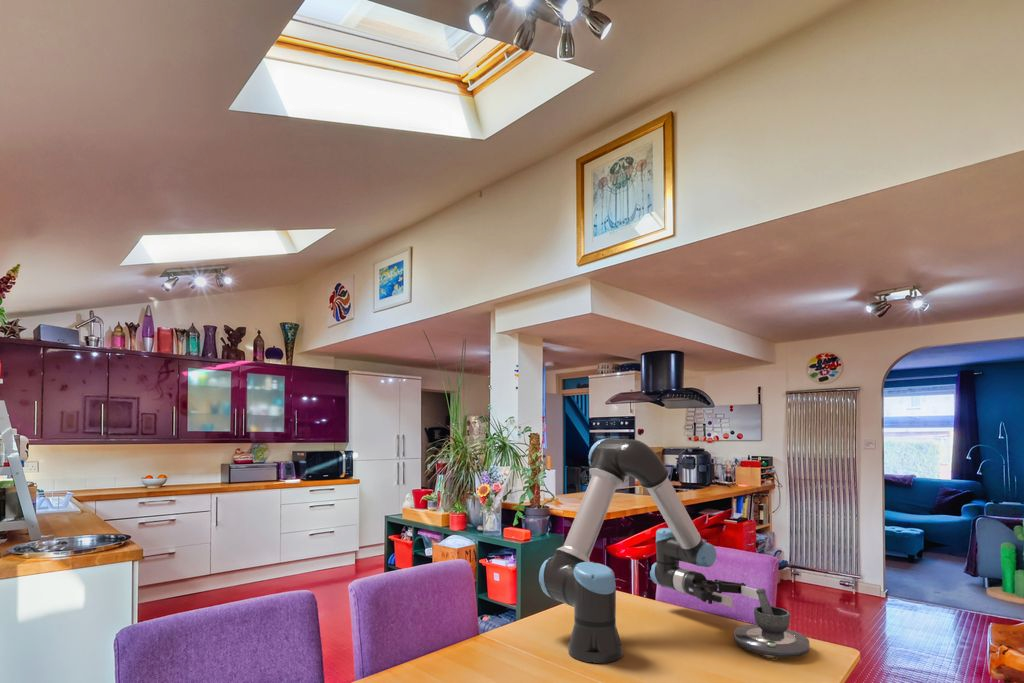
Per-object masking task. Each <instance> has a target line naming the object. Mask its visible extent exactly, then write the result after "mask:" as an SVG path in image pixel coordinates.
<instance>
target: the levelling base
mask: <svg viewBox="0 0 1024 683" xmlns="http://www.w3.org/2000/svg"><path fill="white" fill-rule="evenodd" d="M794 635H795V636H794ZM733 640H734V642H735V643H736V644H737V645H738V646H740V648H742V649H745V650H747V651H750V652H753V653H756V654H760V655H761V656H763V657H762V658H764V659H766V658H767V660H770V659H776V660H778V659H779V658H797V657H802V656H805V655H807V654H809V652H810V648H811V647H810V646H811V645H810V640H809V639H808V637H807V636H806V635H804V634H802V633H800V632H797V631H795V630H792V629H790V628H787V630H786V631H785V632H784V639H782V640H772V639H768V638H765V637H763V636H762V629H761V628H760V627H759V626H758V625H757V624H745V625H741V626H738V627H736V628H735V629H734V630H733ZM777 658H778V659H777Z"/></svg>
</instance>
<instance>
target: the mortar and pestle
mask: <svg viewBox="0 0 1024 683" xmlns="http://www.w3.org/2000/svg"><path fill="white" fill-rule="evenodd" d="M756 593H757V594H758V597H759V600H758V601H759V604H760V606H756V607H754V608H753V616H754V617H753V618H754V621H755V622H756V625H758V626H759V627H760V628H761V629H762V636H763V637H765V638H768V639H772V640H782V639H784V632H785V631H786V630H787V629H789V627H790V620H791V615H790V611H788V610H786V609H784V608H782V607H781V608H780V607H778V606H777V607H776V606H772V605H771V604H770V602H769V599H768V596H767V594H766V593H767V591H766V589H765V588H758V589H757V590H756Z"/></svg>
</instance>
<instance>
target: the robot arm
mask: <svg viewBox="0 0 1024 683" xmlns="http://www.w3.org/2000/svg"><path fill="white" fill-rule="evenodd" d="M588 452H589V453H588V465H589V467H590V468H589V470H588V471H589V475H590V476H591V478H590V480H589V482H588V486H587V488H586V490H585V492H584V495H583V498H582V499H581V503H580V504H579V507H578V510H577V512H576V514H575V516H574V519H573V521H572V523H571V527H570V529H569V531H568V533H567V536H566V539H565V541H564V543H563V545H562V546H560V547H558V548H556V550H555V552H554V555H553V556H551V557H548V559H545V560H544V562H543V563H542V564H541V566H540V569H539V573H538V581H539V585H540V588H541V590H542V592H543V593H544V594H545V595H546V596H547V597H549V598H551V599H552V600H553V601H556V602H561V603H562V604H565V605H567V606H570V607H572V608H574V609H573V611H574V613H573V614H574V618H573V619H574V622H573V627H572V631H571V635H570V639H569V641H568V646H567V648H568V649H567V650H568V654H569V655H570V656H571V657H572V658H574V659H576V660H578V661H581V662H584V663H585V662H586V663H591V662H593V663H592V664H607V663H612V662H616V661H619V660H620V659H621V658H622V657H623V653H624V652H623V644H622V642H621V639H620V638H621V637H620V634H619V632H618V629H617V628H618V627H617V622H616V620H617V618H616V617H617V616H616V614H617V608H616V607H617V605H616V600H617V595H616V594H617V593H616V592H617V590H616V589H617V585H616V584H617V583H616V577H615V572H614V571H613V569H612V568H610V567H609V566H608V565H605V564H602V563H599V562H594V561H590V557H591V554H592V551H593V549H594V546H595V543H596V541H597V538H598V536H599V534H600V531H601V528H602V525H603V523H604V520H605V518H606V516H607V513H608V511H609V508H610V504H611V502H612V500H613V497H614V496H615V492H616V490H617V488H619V487H622V486H623V485H624V482H625V480H626V477H632V478H634V479H635V480H637V481H638V483H639V484H640V486H641V487H642V488H643V489H646V490H647V492H648V493H649V495H650V497H651V499H652V500H653V502H654V504H655V505H656V507H657V509H658V510H659V513H660V514H661V516H662V518H663V519H664V521H665V523H666V525H667V526H668V527H661V528H658V529H657V530H656V531H655V551H656V552H655V553H656V562H654V563H653V564H652V565H651V569H650V571H649V575H650V579H651V581H652V582H653V583H654V584H655V585H658V586H661V587H663V588H667V589H671V590H674V591H677V592H680V593H682V594H683V595H686V594H687V595H689V596H693V597H696V598H697V599H699V600H700V601H702V602H704V603H706V602H707V603H708V605H712V604H713V603H716V604H719V605H723V606H726V607H729V608H733V607H734V599H733V597H732V596H730V595H725V594H723V593H731V594H739V595H740V594H741V595H742V596H744V597H746V598H747V597H748V598H750V599H751V598H752V599H755V600H758V601H759V597H758V594H757V593H756V590H758V589H756V588H752V587H749V586H747V583H744V582H741V583H740V582H734V581H726V580H720V579H717V578H715V579H714V580H711V579H708V578H706V576H705V575H704V574H703V573H702V572H697V571H695V570H692V569H687V568H684V567H680V562H683V563H687V564H691V565H694V566H698V567H703V568H710V567H712V566H713V565H714V564H715V562H716V560H717V550H716V547H715V546H714V545H713V544H711V543H709V542H705V541H704V539H703V537H701V534H700V533H699V531H698V529H697V528H696V526H695V523H694V522H693V520H692V518H691V516H690V515H689V513H688V511H687V510H686V509H687V508H686V507H685V506H684V504H683V502H682V500H681V499H680V496H679V495H678V493H677V492H676V489H675V488H674V486H673V484H672V482H671V480H670V478H669V475H670V474H669V473H670V472H669V471H668V469H667V467H666V465H665V464H664V462H663V461H662V459H661V458H660V457H659V455H658V454H657V453H656V452H655V451H654V450H653V449H652V448H651V447H650V446H649V445H648V444H646V443H644V442H643V441H640V440H637V439H627V438H623V439H621V438H613V437H610V438H609V437H608V438H603V439H599V440H597V441H596V442H594V444H593V445H592V446H591V448H590V450H589V451H588Z"/></svg>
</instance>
